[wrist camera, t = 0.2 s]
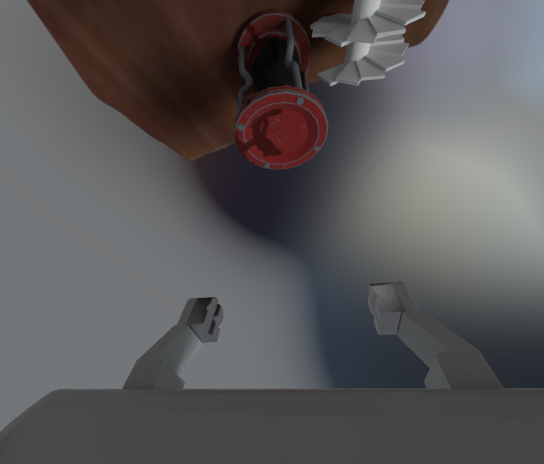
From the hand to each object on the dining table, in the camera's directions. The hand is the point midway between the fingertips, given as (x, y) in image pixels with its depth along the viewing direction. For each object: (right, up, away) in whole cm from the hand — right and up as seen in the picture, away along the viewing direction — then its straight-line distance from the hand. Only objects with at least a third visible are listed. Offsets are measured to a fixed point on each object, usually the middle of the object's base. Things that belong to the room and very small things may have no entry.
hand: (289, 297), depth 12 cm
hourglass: (-1, +42, +37) cm, 57 cm away
